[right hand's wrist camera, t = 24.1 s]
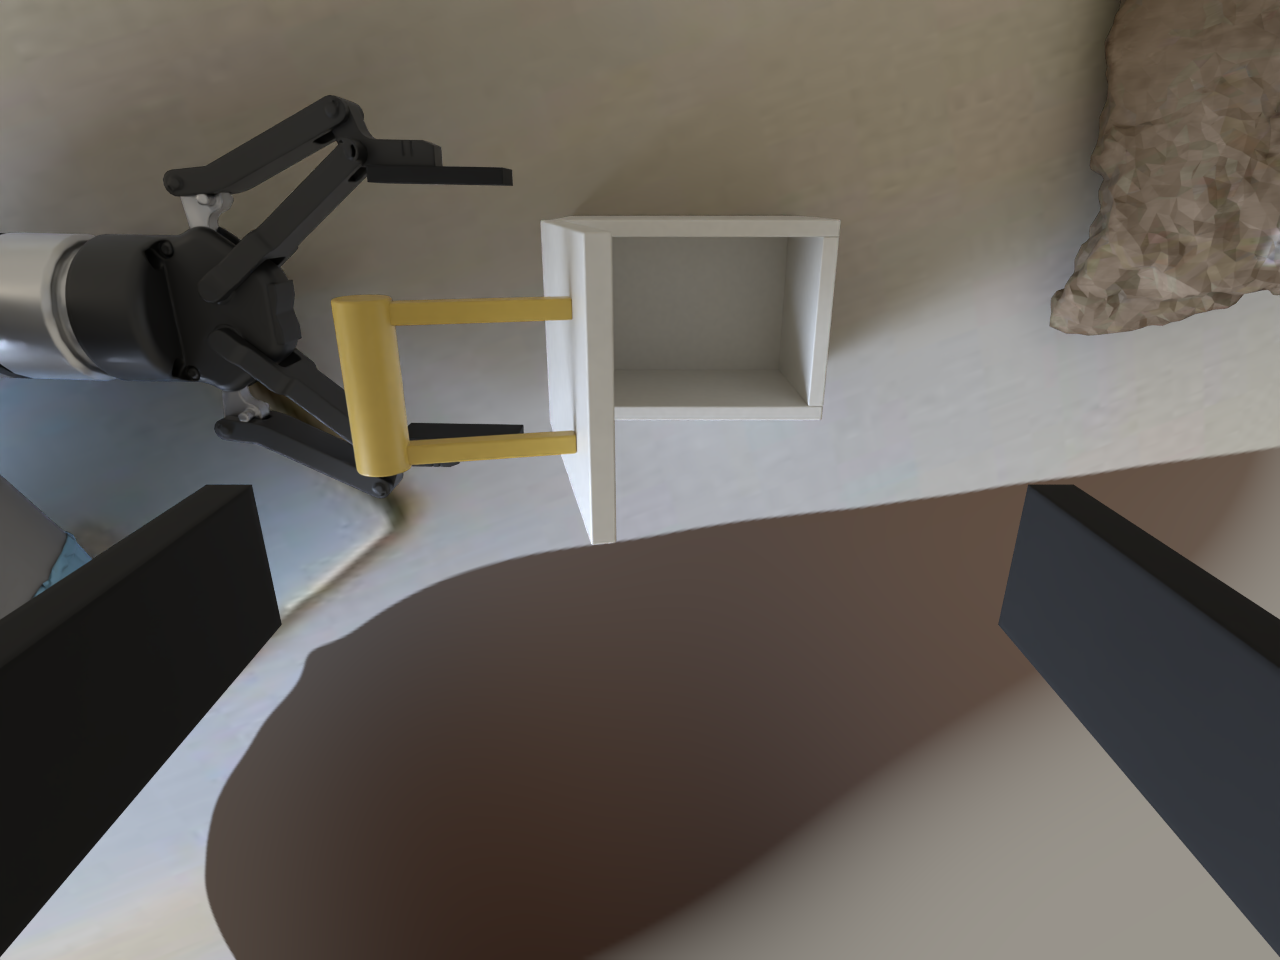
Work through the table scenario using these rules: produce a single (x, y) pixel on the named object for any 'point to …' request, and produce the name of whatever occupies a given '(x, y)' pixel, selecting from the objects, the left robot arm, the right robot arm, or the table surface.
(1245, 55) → the stone
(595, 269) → the lid
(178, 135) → the table surface
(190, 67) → the table surface
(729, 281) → the chest
